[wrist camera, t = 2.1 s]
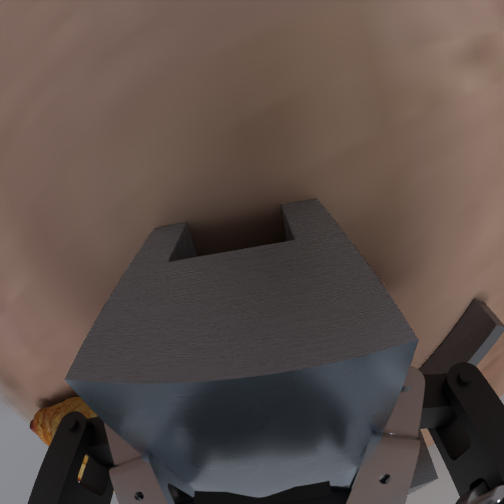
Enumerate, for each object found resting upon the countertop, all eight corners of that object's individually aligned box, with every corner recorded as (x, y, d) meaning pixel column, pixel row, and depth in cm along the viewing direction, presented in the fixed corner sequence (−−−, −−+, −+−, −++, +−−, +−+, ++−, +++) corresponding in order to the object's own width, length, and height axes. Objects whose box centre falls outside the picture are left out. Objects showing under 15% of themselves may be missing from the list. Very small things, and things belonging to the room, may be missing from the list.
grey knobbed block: (435, 282, 12) (536, 425, 4) (506, 313, 13) (568, 396, 5) (277, 457, 20) (284, 543, 12) (363, 454, 22) (379, 524, 14)
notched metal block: (154, 228, 10) (64, 379, 4) (316, 197, 10) (418, 339, 4) (214, 380, 14) (207, 499, 8) (325, 364, 14) (355, 483, 8)
